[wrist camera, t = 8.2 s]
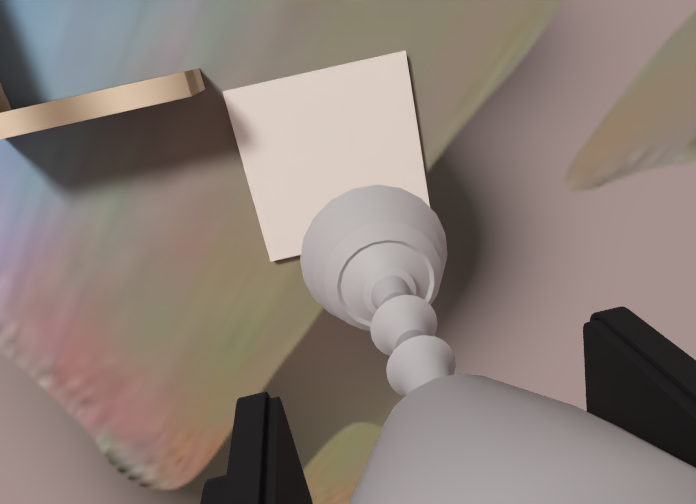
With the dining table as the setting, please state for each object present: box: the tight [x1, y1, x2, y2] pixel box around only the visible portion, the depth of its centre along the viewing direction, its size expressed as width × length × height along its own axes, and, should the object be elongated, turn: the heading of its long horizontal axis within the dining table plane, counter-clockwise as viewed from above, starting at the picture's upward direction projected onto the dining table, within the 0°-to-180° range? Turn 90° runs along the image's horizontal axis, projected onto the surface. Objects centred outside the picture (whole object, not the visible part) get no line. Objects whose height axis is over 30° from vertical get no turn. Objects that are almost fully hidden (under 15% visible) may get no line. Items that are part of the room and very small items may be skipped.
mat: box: [223, 51, 430, 261], centre depth 34 cm, size 11×11×1 cm
